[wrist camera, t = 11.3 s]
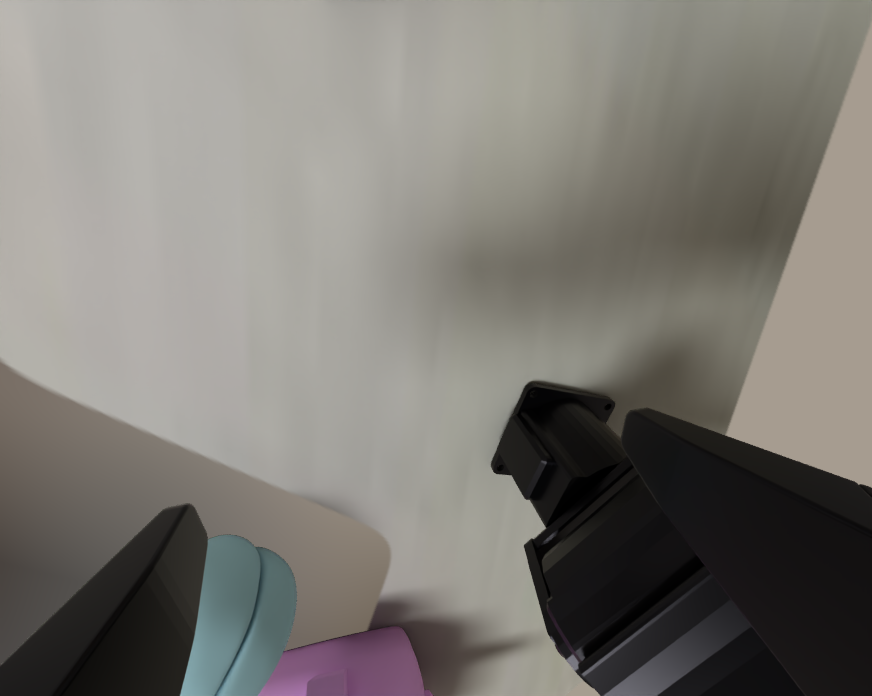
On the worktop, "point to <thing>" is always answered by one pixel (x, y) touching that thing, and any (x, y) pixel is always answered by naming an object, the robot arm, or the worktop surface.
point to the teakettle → (350, 667)
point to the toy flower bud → (240, 619)
